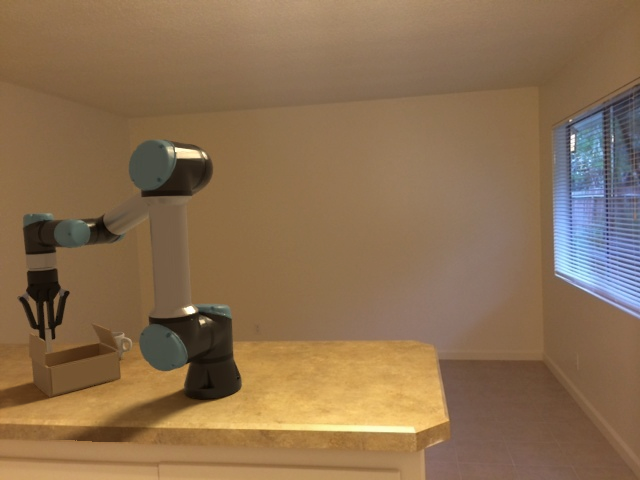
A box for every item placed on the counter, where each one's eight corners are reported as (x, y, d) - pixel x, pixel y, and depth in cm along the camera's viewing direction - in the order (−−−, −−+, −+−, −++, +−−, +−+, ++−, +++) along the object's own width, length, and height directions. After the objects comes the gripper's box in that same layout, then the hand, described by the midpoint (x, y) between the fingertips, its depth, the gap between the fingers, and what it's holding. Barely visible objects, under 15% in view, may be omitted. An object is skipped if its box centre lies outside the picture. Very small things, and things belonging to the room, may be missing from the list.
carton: (121, 379, 145) (119, 352, 144) (50, 398, 132) (48, 368, 131) (100, 366, 157) (98, 342, 157) (33, 383, 144) (30, 356, 144)
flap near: (45, 366, 132) (45, 341, 132) (43, 367, 132) (43, 341, 131) (30, 356, 142) (31, 332, 142) (29, 356, 142) (29, 333, 142)
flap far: (120, 349, 145) (110, 329, 143) (118, 350, 145) (109, 330, 143) (101, 341, 156) (92, 322, 154) (100, 341, 156) (91, 323, 154)
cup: (138, 354, 170) (136, 331, 169) (126, 361, 162) (125, 337, 161) (108, 354, 171) (106, 332, 170) (95, 362, 163) (93, 338, 162)
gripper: (63, 265, 145) (69, 344, 146) (12, 270, 136) (19, 354, 137) (71, 266, 139) (77, 349, 141) (18, 272, 130) (25, 360, 132)
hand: (48, 351), depth 139 cm, fingers closed
